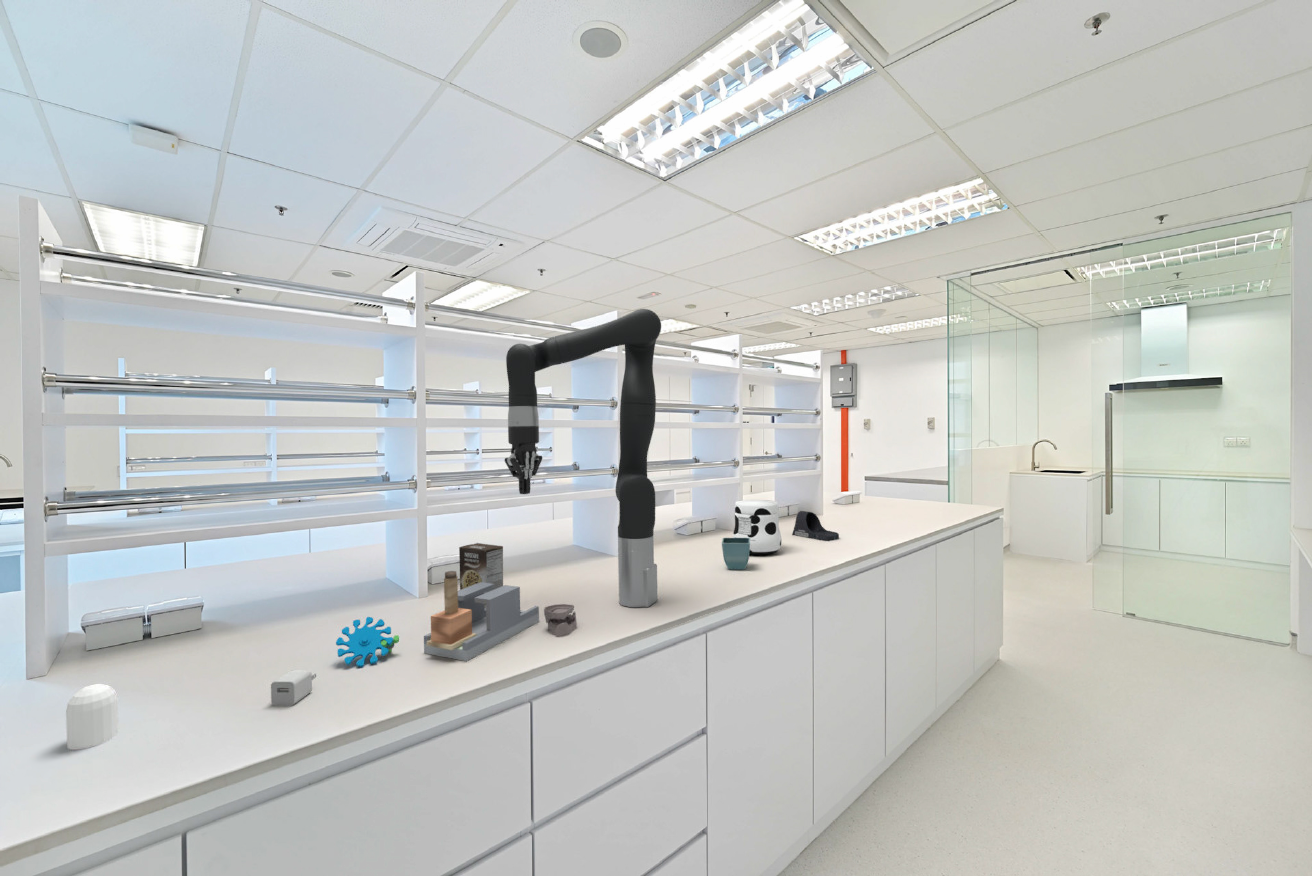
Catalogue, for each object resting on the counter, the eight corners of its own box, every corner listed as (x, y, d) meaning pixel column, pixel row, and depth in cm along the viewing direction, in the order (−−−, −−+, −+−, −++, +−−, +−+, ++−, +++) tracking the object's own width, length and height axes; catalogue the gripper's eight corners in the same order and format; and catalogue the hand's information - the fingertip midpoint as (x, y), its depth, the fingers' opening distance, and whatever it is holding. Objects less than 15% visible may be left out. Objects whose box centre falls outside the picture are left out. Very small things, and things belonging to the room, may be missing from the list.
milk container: (778, 547, 207) (777, 499, 207) (784, 557, 190) (784, 505, 190) (731, 547, 209) (731, 499, 208) (733, 557, 191) (733, 505, 191)
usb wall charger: (271, 705, 91) (270, 681, 91) (299, 686, 98) (299, 663, 98) (294, 705, 91) (294, 681, 91) (321, 686, 98) (321, 663, 98)
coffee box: (459, 611, 138) (457, 546, 138) (478, 603, 144) (477, 542, 144) (486, 616, 134) (484, 550, 134) (504, 608, 140) (503, 544, 139)
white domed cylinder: (59, 745, 80) (57, 690, 80) (106, 727, 85) (104, 675, 85) (79, 752, 78) (78, 696, 78) (126, 733, 83) (125, 680, 83)
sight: (827, 542, 216) (827, 516, 216) (791, 535, 230) (790, 511, 230) (842, 539, 221) (842, 514, 221) (805, 532, 236) (805, 509, 236)
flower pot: (721, 571, 173) (721, 542, 173) (723, 564, 182) (722, 537, 182) (750, 572, 172) (750, 543, 171) (750, 565, 180) (749, 537, 180)
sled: (476, 637, 114) (475, 569, 113) (451, 650, 107) (450, 578, 107) (452, 633, 116) (451, 567, 116) (426, 645, 110) (425, 575, 109)
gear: (329, 664, 103) (342, 614, 110) (331, 677, 107) (343, 629, 114) (394, 663, 107) (402, 615, 114) (394, 676, 111) (401, 629, 118)
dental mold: (558, 622, 129) (558, 601, 129) (583, 626, 126) (582, 604, 126) (536, 633, 122) (536, 611, 122) (562, 638, 119) (562, 615, 119)
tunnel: (539, 621, 130) (538, 578, 130) (466, 661, 108) (465, 610, 107) (501, 615, 134) (500, 574, 134) (424, 653, 112) (423, 603, 112)
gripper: (519, 424, 131) (521, 497, 131) (550, 424, 143) (552, 491, 144) (494, 425, 134) (495, 496, 134) (527, 425, 146) (528, 490, 147)
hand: (524, 493), depth 139 cm, fingers closed
